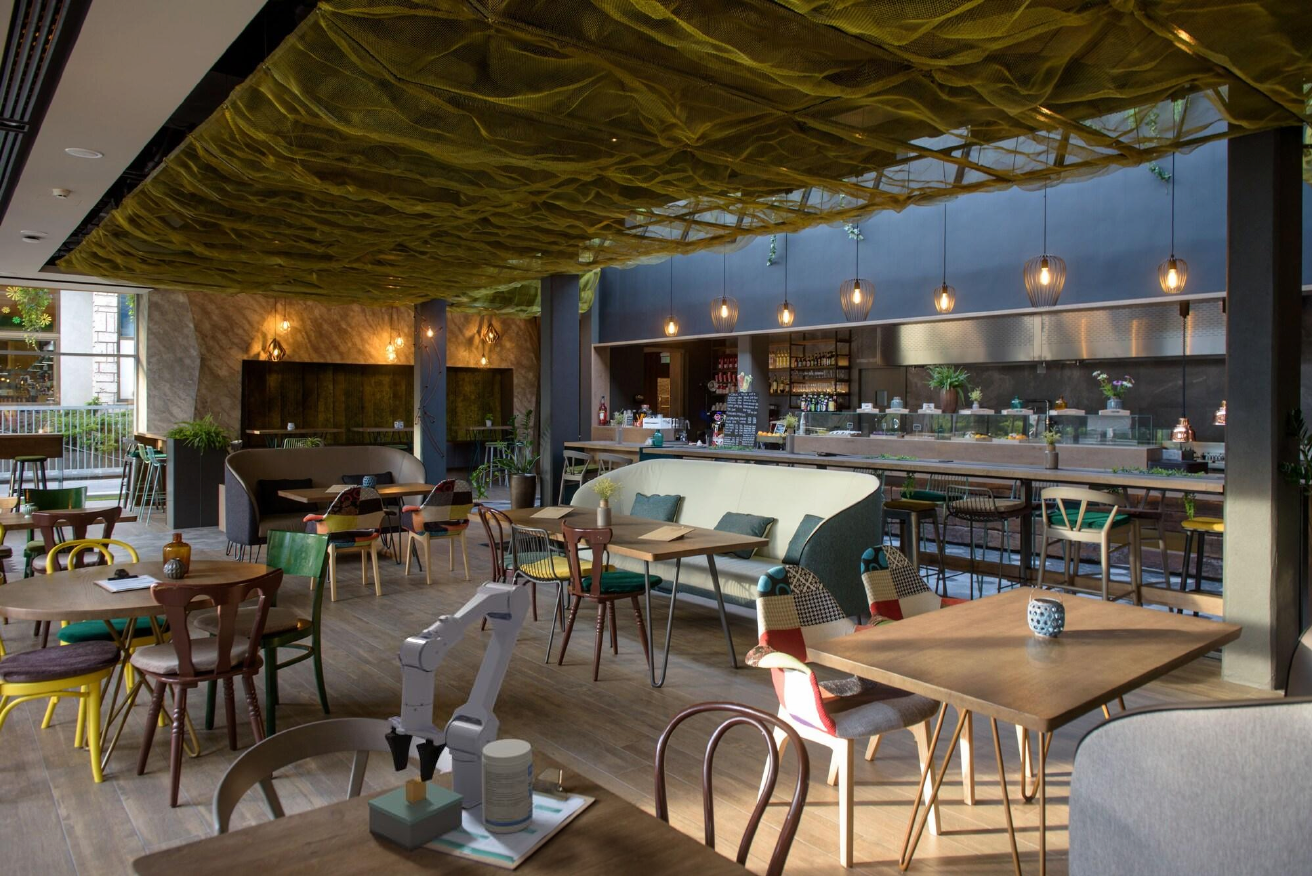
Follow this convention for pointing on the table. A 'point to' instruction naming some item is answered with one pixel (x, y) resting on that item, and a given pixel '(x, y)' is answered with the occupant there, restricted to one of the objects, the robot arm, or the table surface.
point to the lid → (415, 801)
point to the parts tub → (415, 827)
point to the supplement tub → (507, 786)
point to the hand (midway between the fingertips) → (413, 775)
